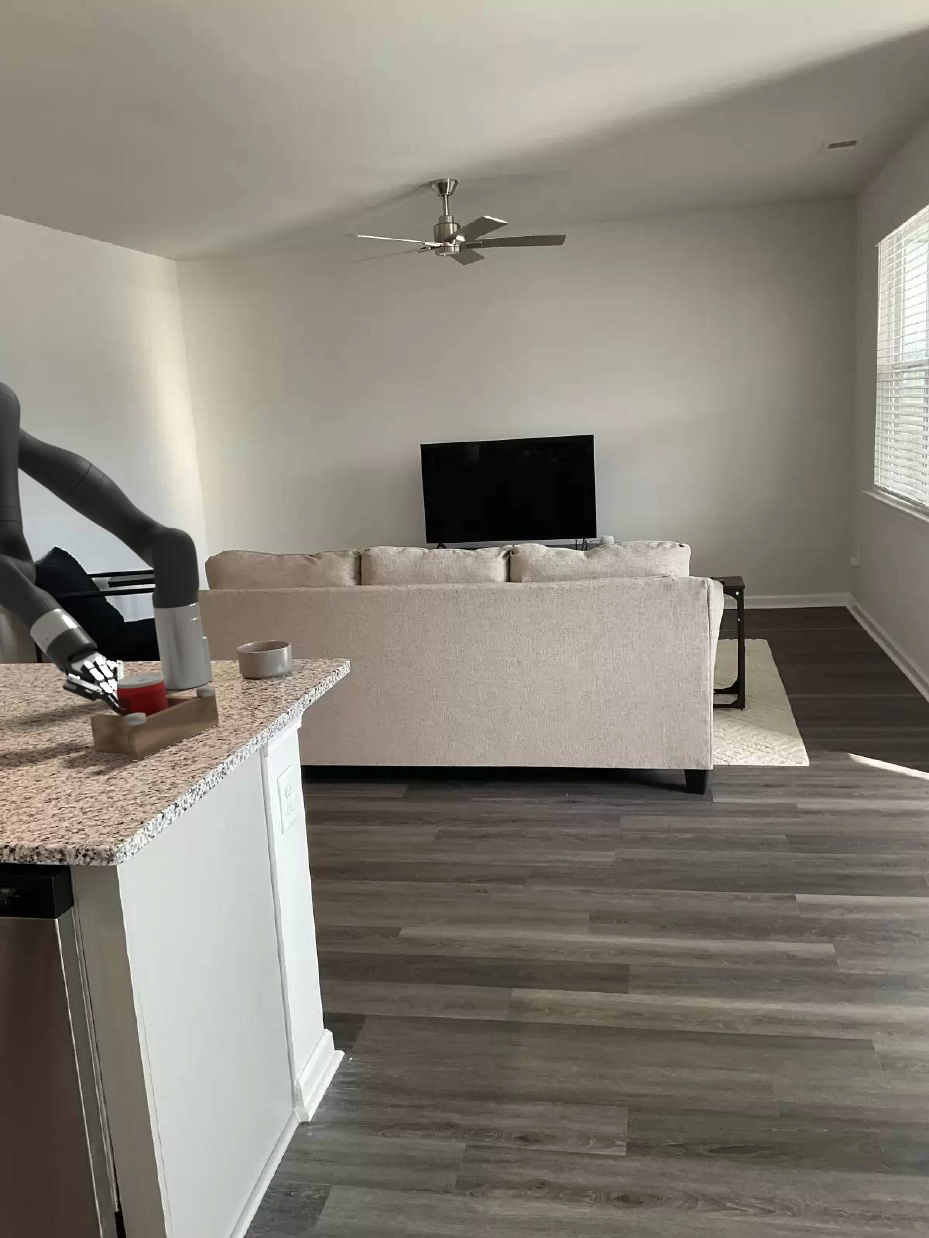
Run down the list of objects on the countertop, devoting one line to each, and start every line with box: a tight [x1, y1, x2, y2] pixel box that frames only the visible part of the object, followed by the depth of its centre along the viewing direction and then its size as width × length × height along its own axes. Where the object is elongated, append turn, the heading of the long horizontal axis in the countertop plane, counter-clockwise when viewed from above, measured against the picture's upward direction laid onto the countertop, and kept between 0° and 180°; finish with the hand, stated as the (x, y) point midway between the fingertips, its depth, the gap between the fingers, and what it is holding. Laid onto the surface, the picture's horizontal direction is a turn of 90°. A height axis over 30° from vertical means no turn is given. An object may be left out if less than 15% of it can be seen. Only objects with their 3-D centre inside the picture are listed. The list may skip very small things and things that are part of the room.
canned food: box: [116, 672, 168, 717], centre depth 169 cm, size 8×8×11 cm
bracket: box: [89, 685, 220, 761], centre depth 170 cm, size 13×20×7 cm, turn 154°
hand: (125, 710), depth 172 cm, fingers closed
